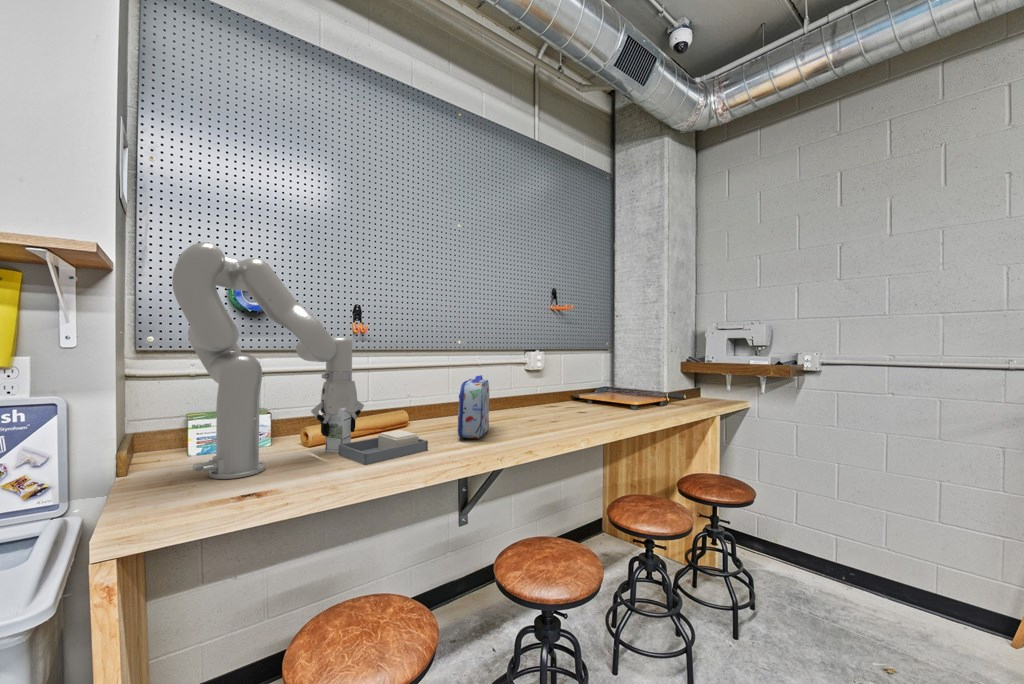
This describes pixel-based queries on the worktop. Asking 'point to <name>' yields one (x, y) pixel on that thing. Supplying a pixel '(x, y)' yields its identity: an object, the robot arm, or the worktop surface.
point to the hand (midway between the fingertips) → (338, 433)
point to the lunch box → (473, 408)
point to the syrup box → (338, 430)
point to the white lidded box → (396, 439)
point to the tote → (378, 450)
